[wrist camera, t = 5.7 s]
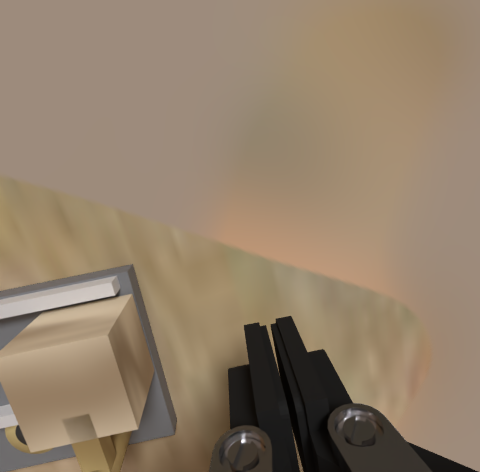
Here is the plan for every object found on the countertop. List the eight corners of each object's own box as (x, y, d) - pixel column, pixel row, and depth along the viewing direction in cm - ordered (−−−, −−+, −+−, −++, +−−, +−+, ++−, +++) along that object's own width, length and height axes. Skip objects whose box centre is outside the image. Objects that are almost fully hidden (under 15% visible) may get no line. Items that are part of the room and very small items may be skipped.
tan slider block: (167, 415, 16) (155, 483, 13) (87, 432, 16) (53, 506, 13) (132, 293, 15) (107, 334, 11) (42, 312, 15) (-10, 359, 11)
